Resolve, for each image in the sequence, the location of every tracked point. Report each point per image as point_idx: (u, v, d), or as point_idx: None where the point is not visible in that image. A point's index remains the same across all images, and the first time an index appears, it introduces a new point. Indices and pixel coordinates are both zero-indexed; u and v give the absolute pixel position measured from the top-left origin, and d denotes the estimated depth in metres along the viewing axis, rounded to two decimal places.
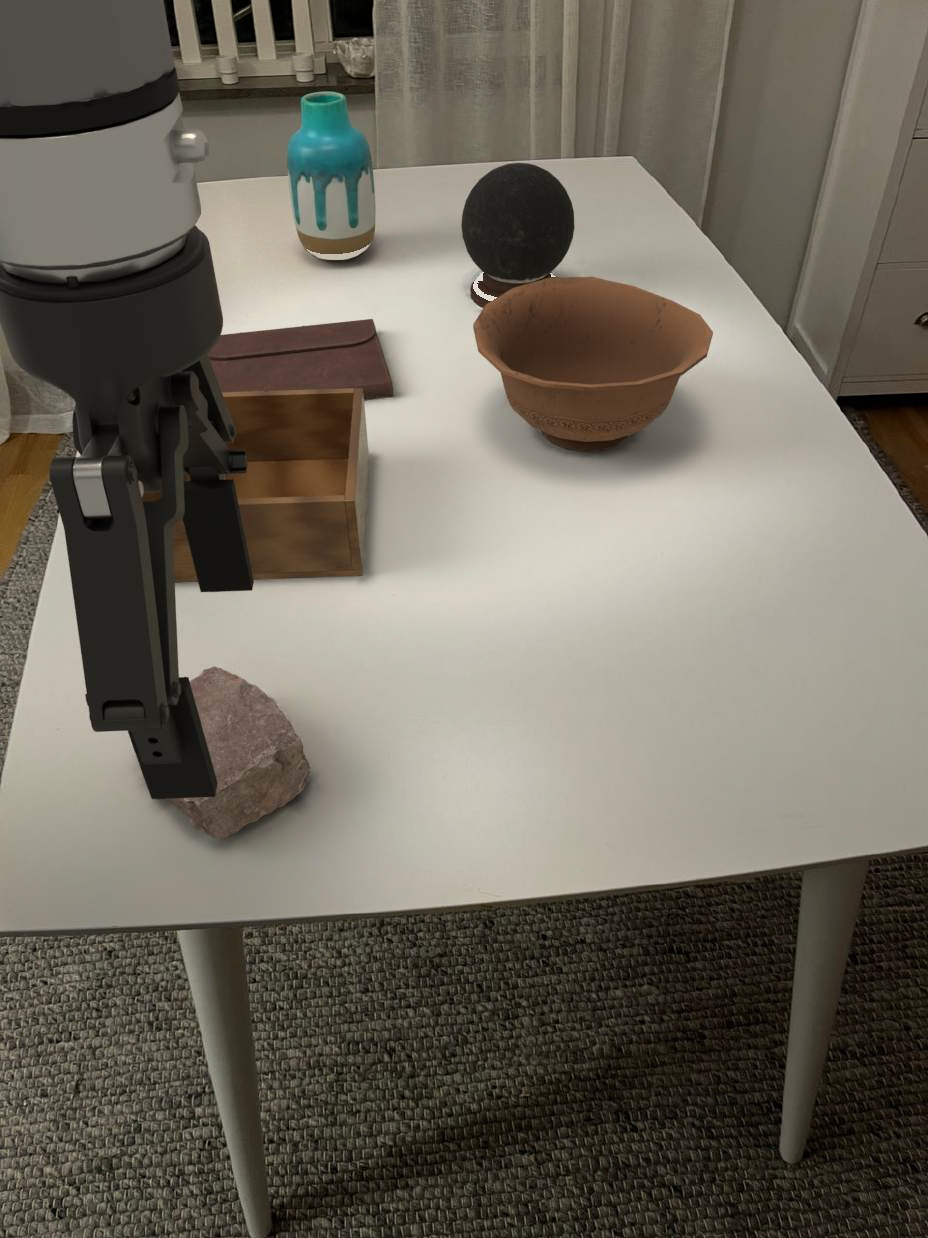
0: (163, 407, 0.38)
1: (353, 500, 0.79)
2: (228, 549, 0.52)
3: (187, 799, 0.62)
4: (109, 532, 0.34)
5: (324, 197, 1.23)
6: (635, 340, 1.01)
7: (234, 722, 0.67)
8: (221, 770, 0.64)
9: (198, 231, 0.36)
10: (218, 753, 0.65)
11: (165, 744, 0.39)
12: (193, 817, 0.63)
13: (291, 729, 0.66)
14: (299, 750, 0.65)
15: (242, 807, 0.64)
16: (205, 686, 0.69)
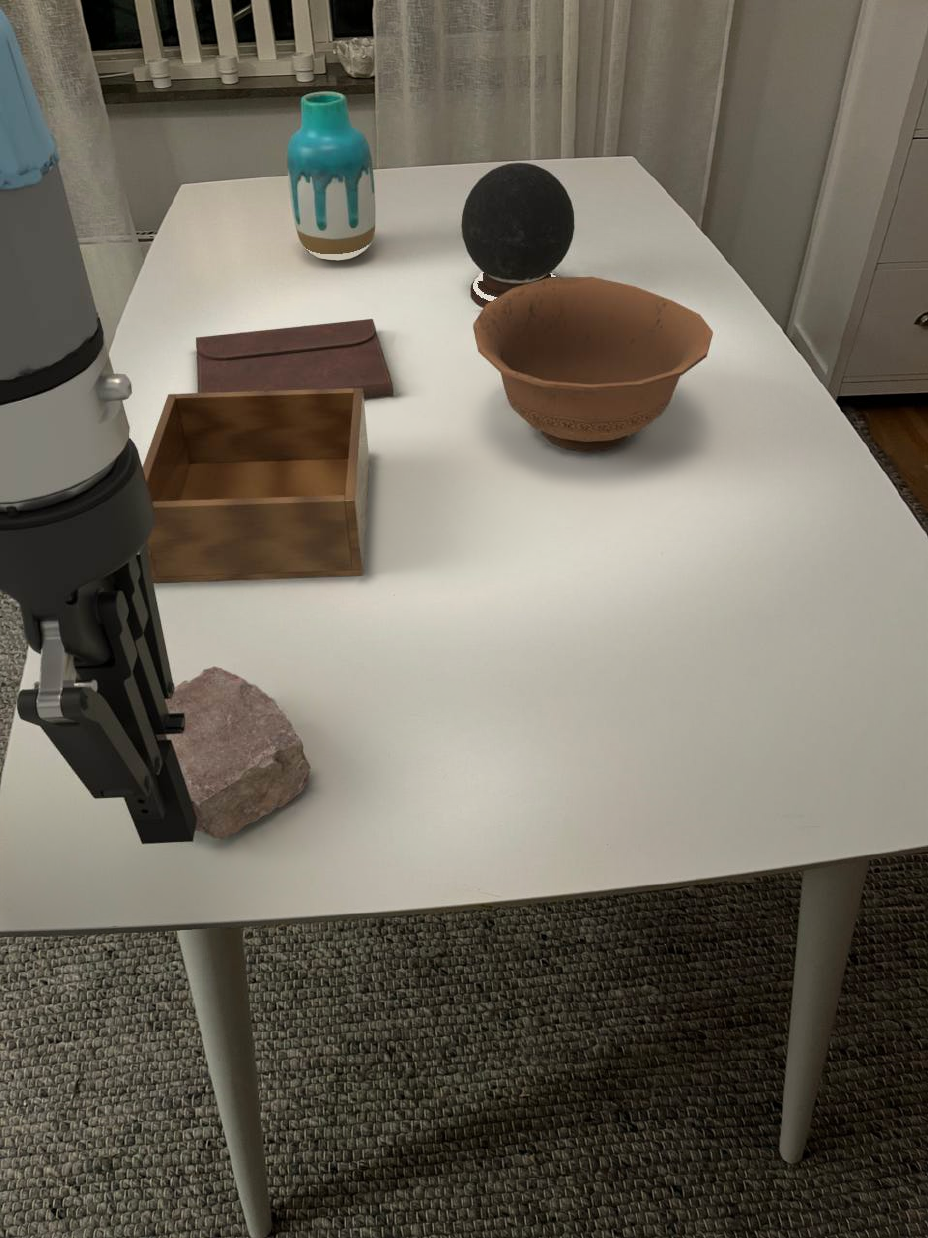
0: (102, 594, 0.42)
1: (353, 500, 0.79)
2: None
3: None
4: (78, 726, 0.41)
5: (324, 197, 1.23)
6: (635, 340, 1.01)
7: (234, 722, 0.67)
8: (221, 770, 0.64)
9: (129, 446, 0.40)
10: (217, 753, 0.65)
11: (150, 804, 0.50)
12: None
13: (291, 729, 0.66)
14: (299, 750, 0.65)
15: (242, 807, 0.64)
16: (205, 686, 0.69)
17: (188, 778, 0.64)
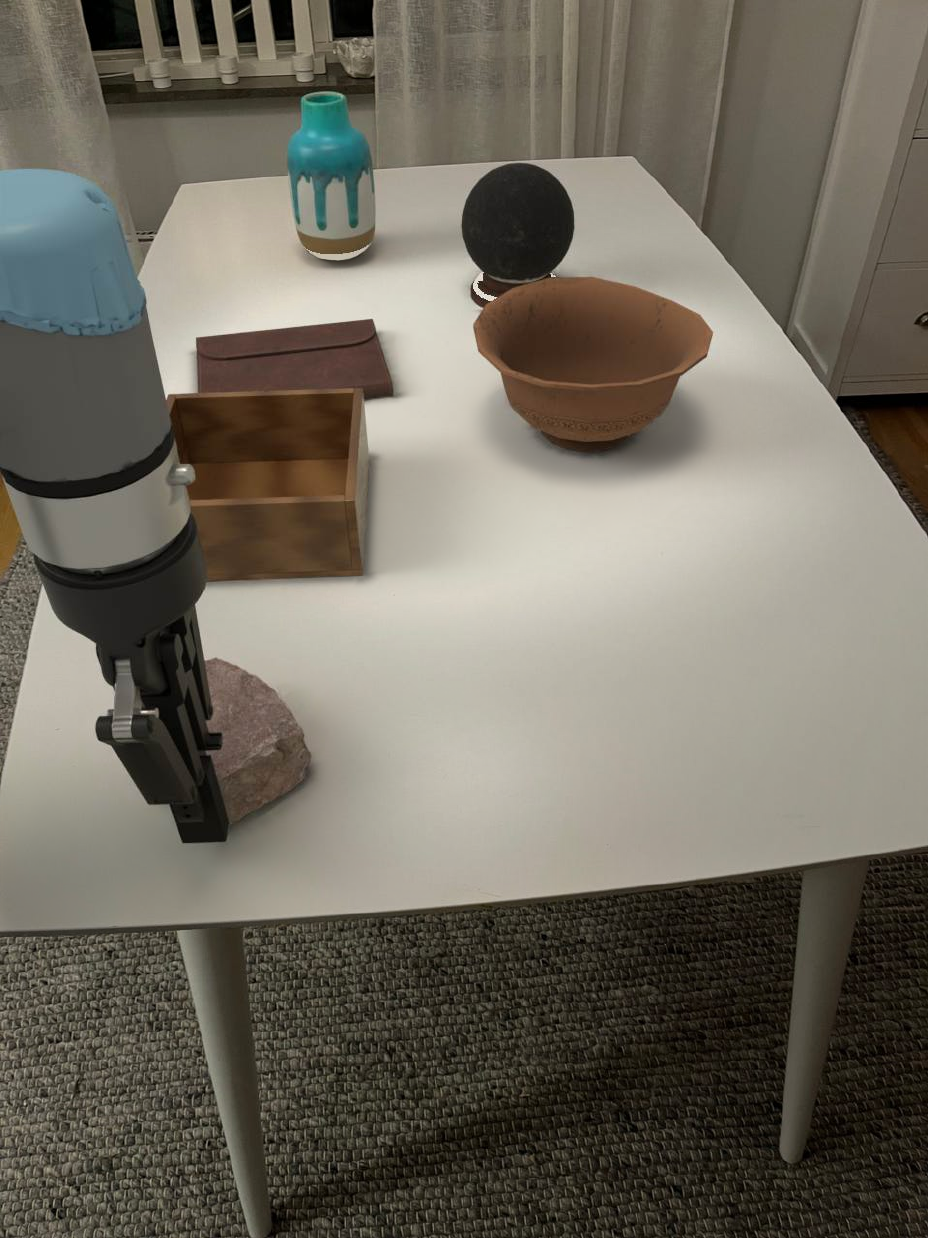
0: (163, 637, 0.51)
1: (353, 500, 0.79)
2: None
3: None
4: (142, 746, 0.50)
5: (324, 197, 1.23)
6: (636, 340, 1.01)
7: (235, 712, 0.68)
8: (223, 759, 0.64)
9: (188, 517, 0.49)
10: None
11: (193, 809, 0.59)
12: None
13: (292, 718, 0.66)
14: (300, 739, 0.66)
15: (244, 795, 0.65)
16: None
17: None
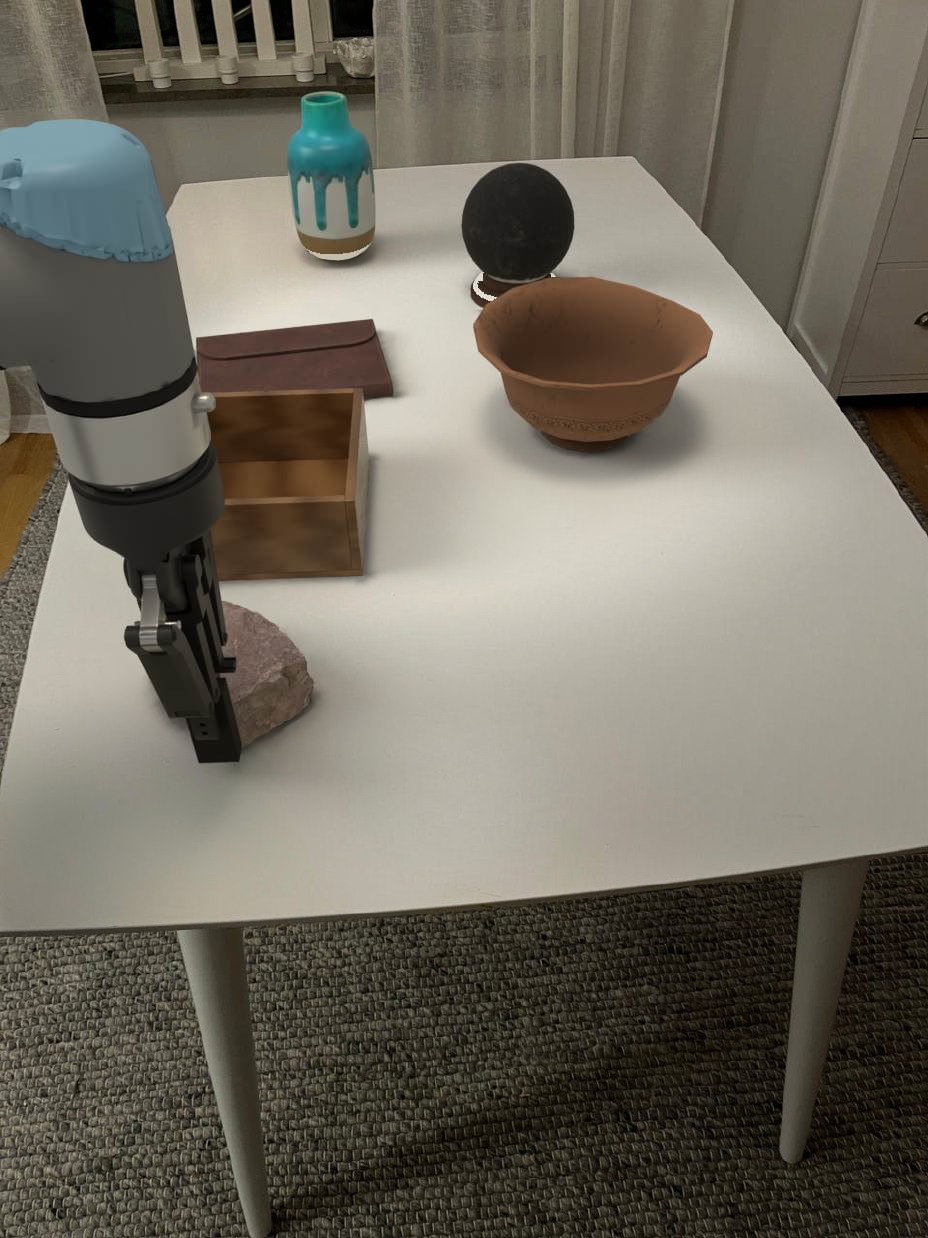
0: (184, 557, 0.55)
1: (353, 500, 0.79)
2: None
3: None
4: (166, 656, 0.55)
5: (324, 197, 1.23)
6: (636, 340, 1.01)
7: (240, 645, 0.72)
8: (233, 686, 0.69)
9: (208, 445, 0.53)
10: None
11: (209, 727, 0.64)
12: None
13: (294, 647, 0.71)
14: (303, 666, 0.71)
15: (254, 719, 0.69)
16: None
17: None
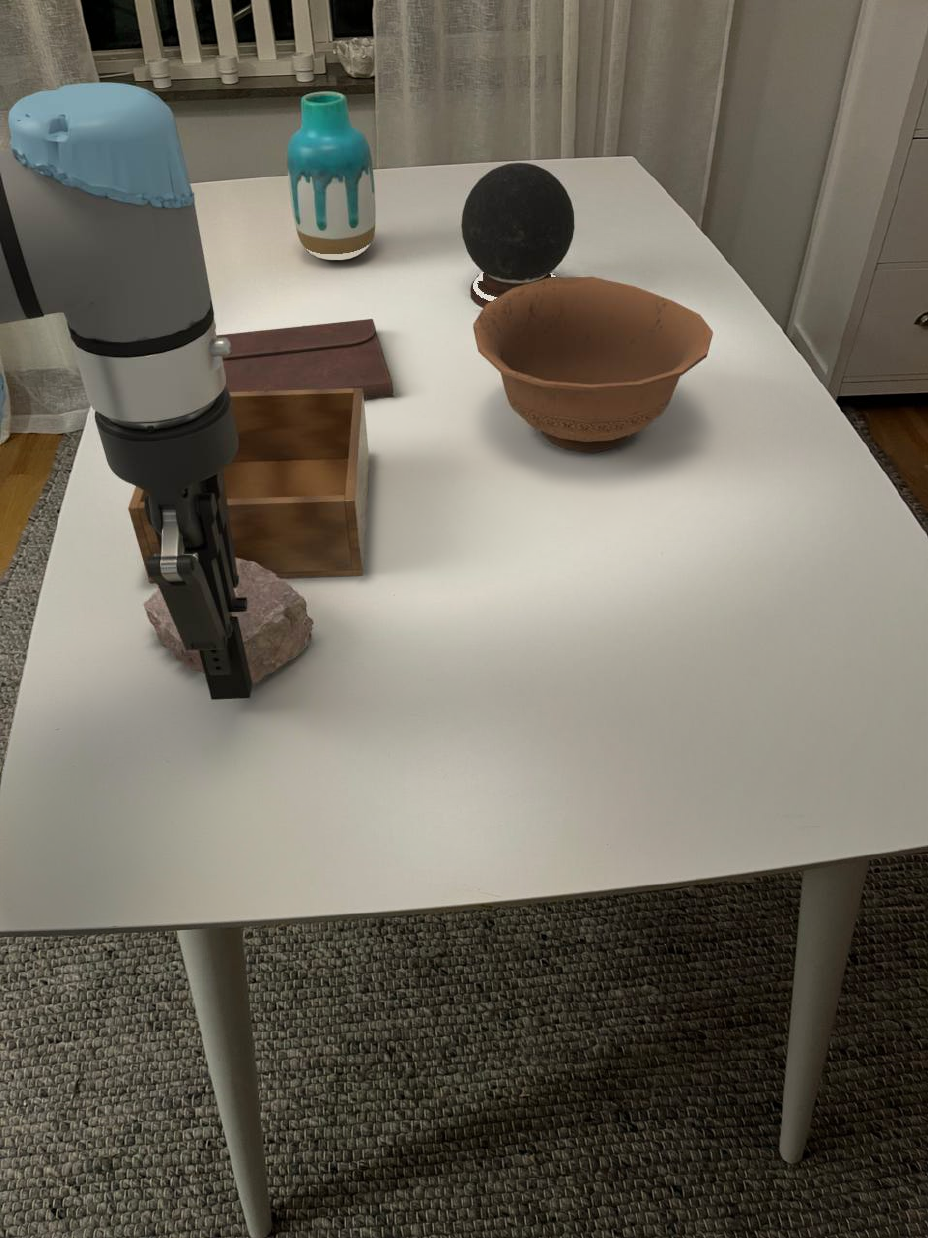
0: (201, 495, 0.60)
1: (353, 500, 0.79)
2: None
3: None
4: (184, 586, 0.59)
5: (324, 197, 1.23)
6: (635, 340, 1.01)
7: (241, 593, 0.77)
8: (240, 628, 0.73)
9: (223, 389, 0.58)
10: None
11: (222, 661, 0.68)
12: None
13: (293, 591, 0.76)
14: (303, 607, 0.76)
15: (261, 659, 0.74)
16: None
17: None
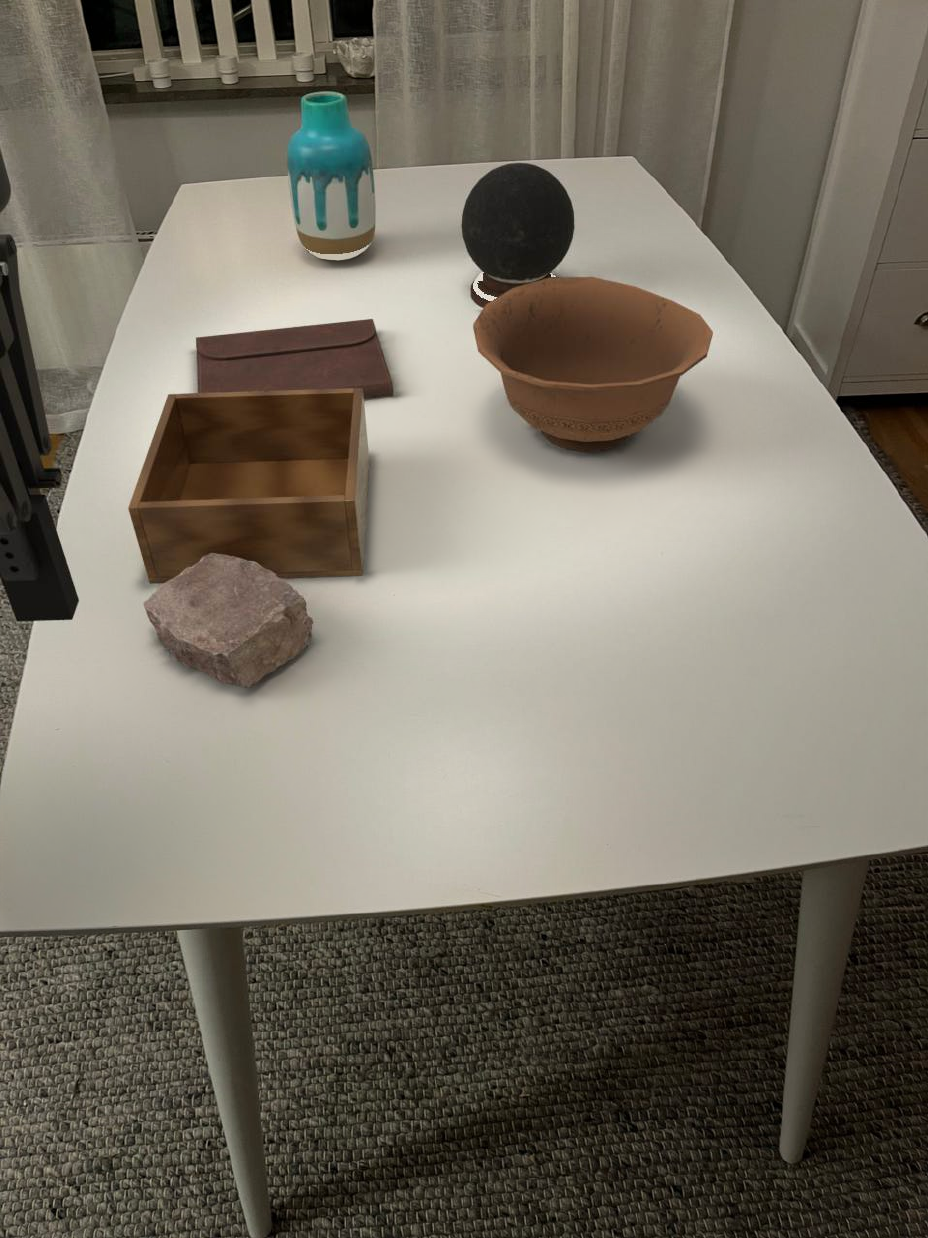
0: None
1: (353, 500, 0.79)
2: None
3: (215, 653, 0.72)
4: None
5: (324, 197, 1.23)
6: (635, 340, 1.01)
7: (241, 592, 0.77)
8: (240, 628, 0.73)
9: None
10: (233, 617, 0.75)
11: (20, 559, 0.46)
12: (221, 670, 0.73)
13: (293, 590, 0.76)
14: (303, 607, 0.76)
15: (261, 658, 0.74)
16: (208, 568, 0.78)
17: (211, 638, 0.73)
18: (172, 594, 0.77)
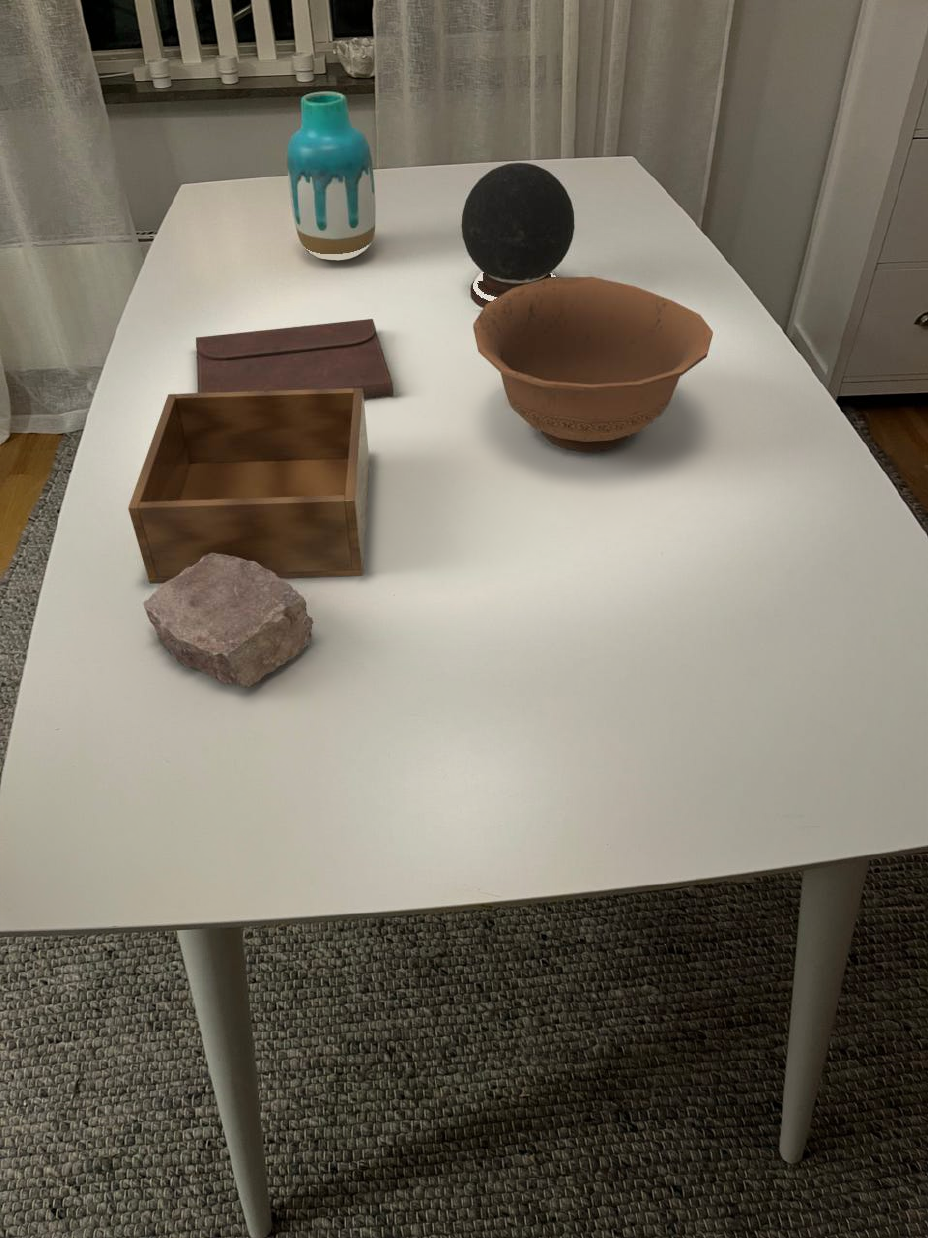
0: None
1: (353, 500, 0.79)
2: None
3: (215, 653, 0.72)
4: None
5: (324, 197, 1.23)
6: (636, 340, 1.01)
7: (241, 592, 0.77)
8: (240, 628, 0.73)
9: None
10: (233, 617, 0.75)
11: None
12: (221, 670, 0.73)
13: (293, 590, 0.76)
14: (303, 607, 0.76)
15: (261, 658, 0.74)
16: (208, 568, 0.78)
17: (211, 638, 0.73)
18: (172, 594, 0.77)
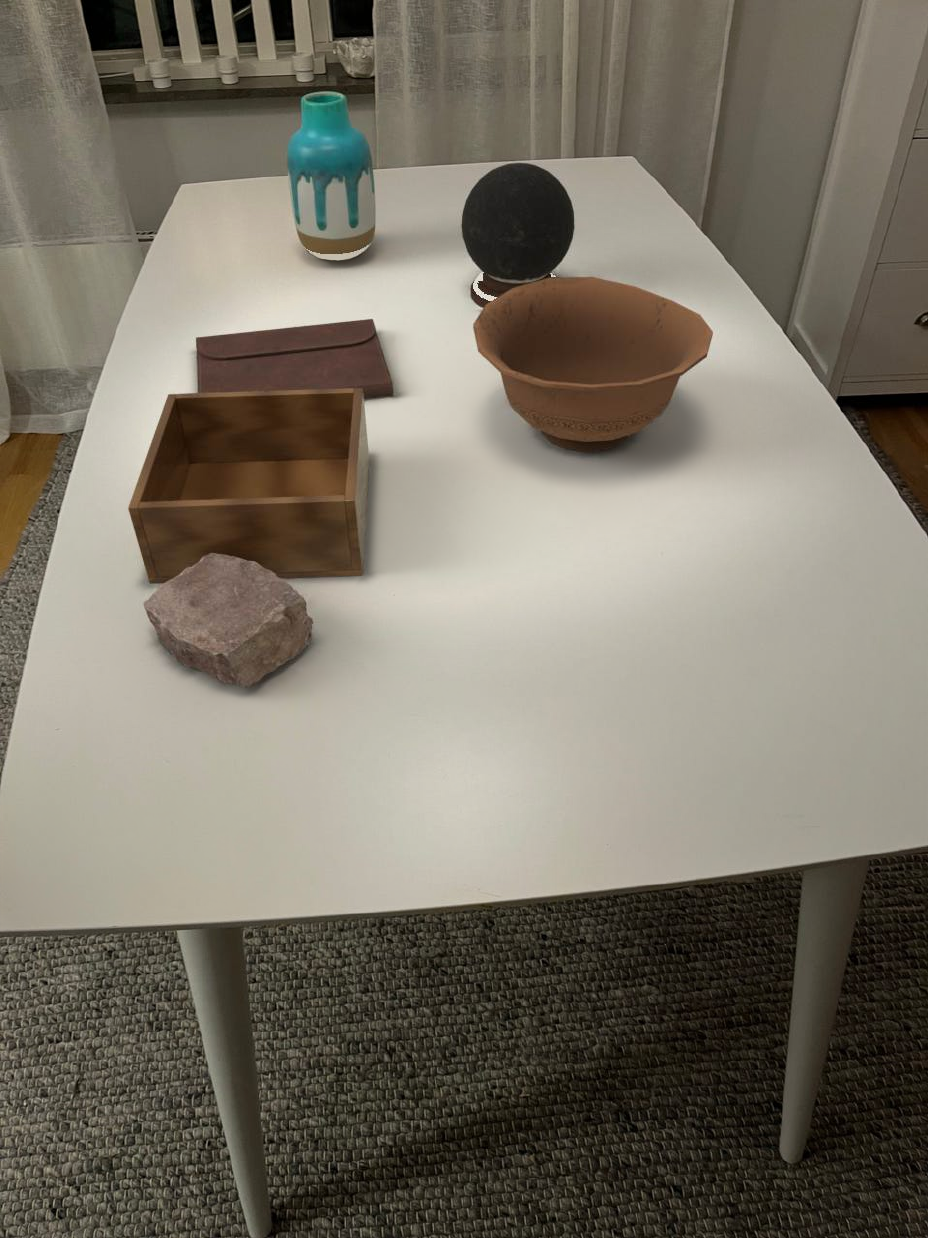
0: None
1: (353, 500, 0.79)
2: None
3: (215, 653, 0.72)
4: None
5: (324, 197, 1.23)
6: (635, 340, 1.01)
7: (241, 592, 0.77)
8: (240, 628, 0.73)
9: None
10: (233, 617, 0.75)
11: None
12: (221, 670, 0.73)
13: (293, 590, 0.76)
14: (303, 607, 0.76)
15: (261, 658, 0.74)
16: (208, 568, 0.78)
17: (211, 638, 0.73)
18: (172, 594, 0.77)
